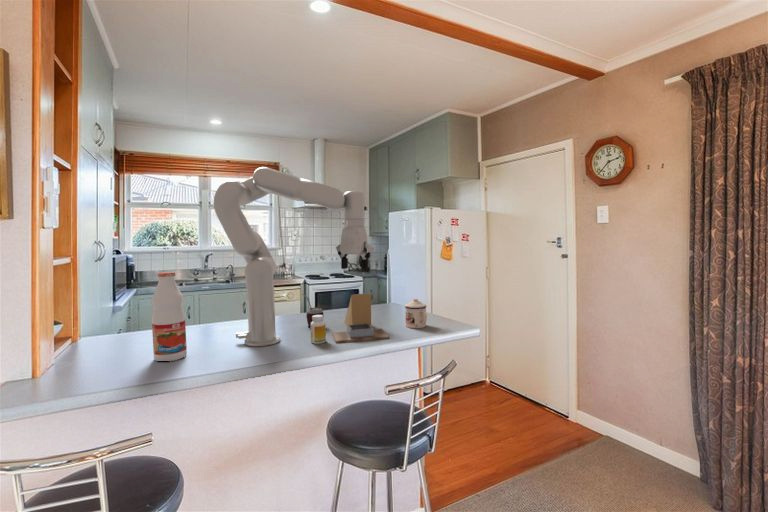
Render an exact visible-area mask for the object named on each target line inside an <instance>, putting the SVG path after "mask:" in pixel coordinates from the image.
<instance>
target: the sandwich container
mask: <svg viewBox="0 0 768 512" xmlns="http://www.w3.org/2000/svg"><path fill="white" fill-rule="evenodd" d="M349 300H350V301H349V304H348V307H347V312H346V315H345V318H344V324H345V325H346V326H347V325H352V324H365V323H369V324H370V325H371V326H372V294H371V292H370V293H357V294H351V295H350V299H349Z"/></svg>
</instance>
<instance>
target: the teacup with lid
mask: <svg viewBox="0 0 768 512" xmlns="http://www.w3.org/2000/svg"><path fill="white" fill-rule="evenodd" d="M404 309H405V311H404V313H405V315H404V316H405V326H406V327H407V328H409V329H422V328H425V327H426V326H427V320H428V314H427V304H426V303H424V302H421V301H419V300H418V298H413V299H412V301H411V300H410V302H408V303H406V304H405V305H404Z"/></svg>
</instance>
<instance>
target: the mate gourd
mask: <svg viewBox="0 0 768 512" xmlns="http://www.w3.org/2000/svg"><path fill="white" fill-rule="evenodd" d="M302 295H303V296H304V298H306V301H307V303H308V306H309V308H308V309H307V311H306V321H307V327H308V329H309V328H310V329H311V326H310V325H311V322H312V321H313V320H312V316H314V315H323V317H324V310H323V309H322V308H321V307H312V305H311V301H310V298H309V297H308V296H307V295H306V294H302Z"/></svg>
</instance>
